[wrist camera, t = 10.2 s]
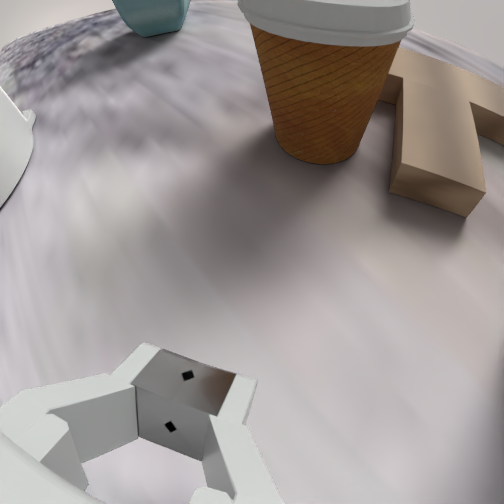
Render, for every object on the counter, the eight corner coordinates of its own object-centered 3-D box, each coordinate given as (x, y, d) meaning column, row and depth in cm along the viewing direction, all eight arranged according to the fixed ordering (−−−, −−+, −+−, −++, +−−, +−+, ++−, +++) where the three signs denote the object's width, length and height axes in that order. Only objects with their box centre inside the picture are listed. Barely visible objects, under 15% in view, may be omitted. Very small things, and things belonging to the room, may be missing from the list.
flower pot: (193, 34, 32) (180, -29, 24) (126, 48, 32) (105, -9, 24) (200, 11, 36) (190, -42, 28) (142, 23, 36) (127, -27, 28)
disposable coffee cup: (253, 185, 21) (230, 9, 10) (253, 97, 25) (238, -36, 14) (394, 183, 20) (450, 26, 9) (364, 97, 24) (383, -30, 14)
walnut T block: (259, 159, 22) (256, 128, 19) (308, 52, 28) (309, 28, 25) (551, 252, 17) (573, 233, 14) (520, 121, 23) (531, 102, 20)
